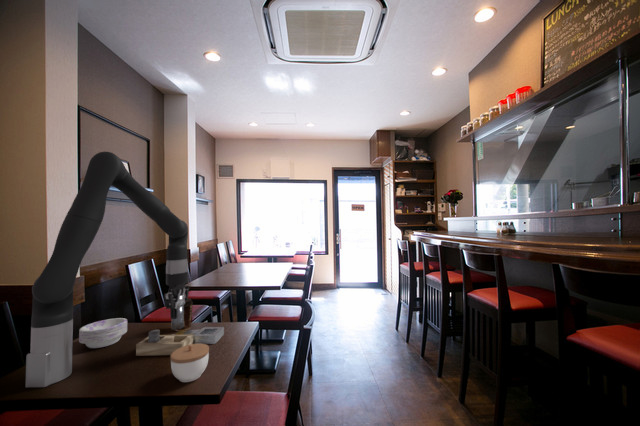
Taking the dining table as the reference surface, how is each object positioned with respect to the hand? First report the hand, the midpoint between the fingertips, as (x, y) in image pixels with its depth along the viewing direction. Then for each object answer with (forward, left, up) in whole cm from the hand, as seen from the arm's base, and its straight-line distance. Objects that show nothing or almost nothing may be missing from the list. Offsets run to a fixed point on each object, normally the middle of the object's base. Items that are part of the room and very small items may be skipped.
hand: (177, 316), depth 99 cm
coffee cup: (+21, +9, -13) cm, 26 cm away
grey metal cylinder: (0, 0, -4) cm, 4 cm away
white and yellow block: (+9, +1, -12) cm, 15 cm away
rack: (0, +4, -13) cm, 13 cm away
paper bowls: (+7, +34, -13) cm, 37 cm away
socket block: (+9, -8, -12) cm, 17 cm away
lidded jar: (-18, -15, -13) cm, 27 cm away
